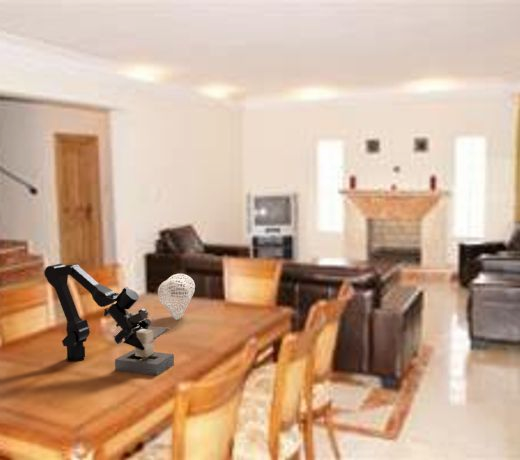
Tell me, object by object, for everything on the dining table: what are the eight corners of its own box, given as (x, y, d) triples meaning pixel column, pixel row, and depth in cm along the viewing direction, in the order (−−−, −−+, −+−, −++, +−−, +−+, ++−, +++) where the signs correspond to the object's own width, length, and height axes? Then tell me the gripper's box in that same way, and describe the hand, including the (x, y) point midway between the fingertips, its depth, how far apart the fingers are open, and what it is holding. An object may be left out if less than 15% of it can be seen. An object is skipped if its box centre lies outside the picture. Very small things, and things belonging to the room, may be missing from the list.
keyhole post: (133, 365, 223) (133, 332, 222) (142, 361, 229) (141, 328, 228) (147, 367, 221) (146, 333, 220) (155, 362, 227) (155, 329, 226)
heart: (169, 312, 312) (168, 271, 310) (197, 313, 311) (197, 271, 309) (155, 326, 285) (154, 281, 282) (186, 327, 283) (185, 281, 281)
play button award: (155, 336, 263) (114, 334, 268) (155, 340, 264) (114, 337, 268) (168, 327, 279) (129, 325, 284) (168, 330, 279) (130, 328, 284)
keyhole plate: (115, 370, 222) (114, 359, 222) (133, 359, 234) (133, 349, 234) (157, 375, 216) (156, 364, 216) (173, 364, 228) (173, 354, 228)
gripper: (120, 308, 215) (147, 341, 213) (146, 298, 233) (172, 328, 230) (102, 328, 219) (129, 360, 216) (130, 316, 236) (155, 345, 234)
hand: (147, 347), depth 224 cm, fingers closed on keyhole post, 5 cm apart
